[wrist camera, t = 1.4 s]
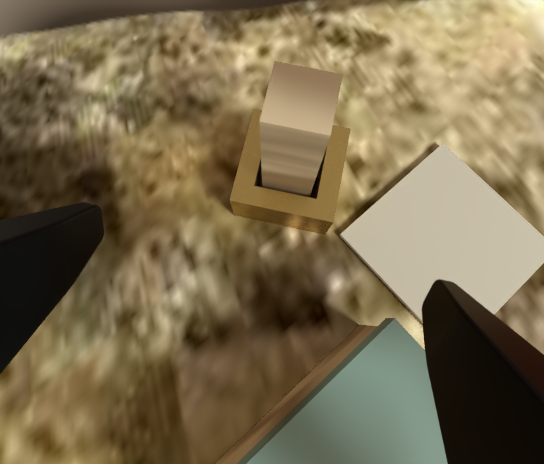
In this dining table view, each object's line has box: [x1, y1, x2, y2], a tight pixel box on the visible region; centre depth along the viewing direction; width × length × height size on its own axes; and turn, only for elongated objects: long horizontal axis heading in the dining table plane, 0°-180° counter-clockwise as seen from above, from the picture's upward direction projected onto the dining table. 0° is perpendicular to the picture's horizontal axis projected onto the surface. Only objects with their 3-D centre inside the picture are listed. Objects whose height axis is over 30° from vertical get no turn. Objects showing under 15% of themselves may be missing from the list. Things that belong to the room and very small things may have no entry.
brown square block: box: [259, 61, 343, 197], centre depth 19 cm, size 3×3×10 cm
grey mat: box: [339, 143, 544, 324], centre depth 23 cm, size 10×10×1 cm
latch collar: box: [230, 109, 350, 234], centre depth 22 cm, size 6×6×3 cm
